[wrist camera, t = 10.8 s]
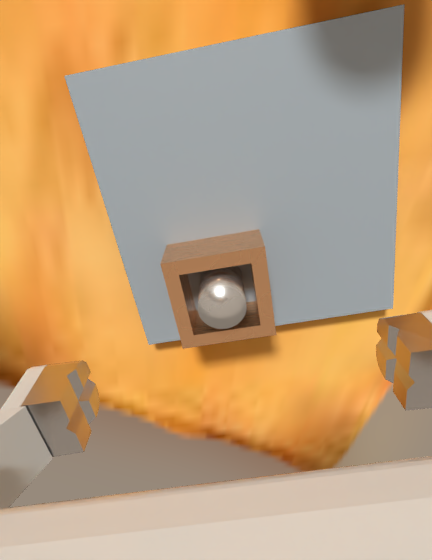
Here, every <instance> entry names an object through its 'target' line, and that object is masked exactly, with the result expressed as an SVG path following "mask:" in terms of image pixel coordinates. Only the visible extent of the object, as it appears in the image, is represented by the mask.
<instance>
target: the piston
mask: <svg viewBox="0 0 432 560" xmlns="http://www.w3.org/2000/svg"><path fill="white" fill-rule="evenodd" d="M246 309H247V307H246V299H245V292H244V286H243V279H242V273H241V271H240V269H239V267H238V266H232V267H226V268H220V269H214V270H207V271H202V272H201V275H200V286H199V297H198V313H199V316H200V318H201V319H202V321H203V322H204V323H206V324H207V325H209V326H211V327H213V328H217V329H227V328H231V327H233V326H235V325H237V324H238V323H240V322H241V321H242V319H243V318H244V316H245V314H246Z"/></svg>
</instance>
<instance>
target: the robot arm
mask: <svg viewBox="0 0 432 560" xmlns="http://www.w3.org/2000/svg"><path fill="white" fill-rule="evenodd" d="M377 332H378V334H379V335H380V337H381V338H382V339H381V340H380V341H379V342H378V344H377V345H376V356H377V361H378V366H379V368H380V370H381V373H382V374H383V376H384V378H385V379H386V380H388V381H390V382H392V383H394V384H393V392H394V394H395V395H396V397H397V398H398V400H399V401H400V402H401V404H402V406H403V408H404V409H405V410H415V409H425V408H432V310H428V311H422V312H417V313H413V314H407V315H400V316H393V317H387V318H380V319H379V321H378V324H377ZM89 374H90V369H89V367H88V365H87V363H86V362H84V361H74V362H66V363H57V364H49V365H42V366H35V367H31V368H29V369H27V371H26V372H25V373H24V375H23V376H22V378H21V379H20V381H19V382H18V384H17V385H16V387H15V388H14V390H13V391H12V393H11V394H10V396H9V397H8V399H7V400H6V402H5V403H4V405H3V406H2V408H1V409H0V560H432V456H429V457H421V458H414V459H406V460H396V461H388V462H380V463H372V464H363V465H355V466H346V467H338V468H330V469H321V470H313V471H305V472H296V473H288V474H280V475H272V476H264V477H255V478H247V479H239V480H231V481H223V482H214V483H207V484H198V485H191V486H182V487H174V488H167V489H157V490H149V491H141V492H133V493H125V494H116V495H108V496H100V497H92V498H84V499H75V500H67V501H59V502H51V503H43V504H34V505H26V506H18V507H10V505H11V504H12V503H13V502H14V501H15V500H16V499H17V498H18V497H19V496H20V494H21V493H22V492H23V491H24V490H25V489H26V488H27V487H28V485H29V484H30V483H31V482H32V481H33V480H34V479H35V478H36V476H38V474H39V473H40V472H41V471H42V470H43V469H44V468H45V467H46V466H47V464H48V463H49V462H50V461H51V460H52V459H53V457H54V456H61V455H67V454H73V453H80V452H84V450H85V448H86V445H87V442H88V439H89V436H90V434H91V429H90V427H89V424H90V423H91V422H92V421H93V420H94V419H95V418H96V416H97V413H98V410H99V393H98V389H97V387H96V384H95V383H93V382H92V381H90V380H89V379H88V377H89ZM9 507H10V508H9Z"/></svg>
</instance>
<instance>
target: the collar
mask: <svg viewBox="0 0 432 560" xmlns="http://www.w3.org/2000/svg"><path fill="white" fill-rule="evenodd" d="M244 264H250V266H251V272H252V279H253V286H254V292H255V299H256V301H252V302H246V307H247V309H246V314H245V316H244V318H243V319H242V321H241V322H240V323H238V324H237V325H235V326H233V327H231V328H227V329H217V328H213V327H211V326H209V325H207V324H206V323H204V322H203V321H202V319H201V318H200V316H199V313H198V310H196V308H195V304H194V299H193V295H192V291H191V287H190V282H189V278H188V274H189V273H195V272H201V271H207V270H214V269H220V268H226V267H232V266H238V265H244ZM160 265H161V269H162V272H163V276H164V280H165V283H166V287H167V291H168V295H169V298H170V302H171V306H172V310H173V313H174V317H175V321H176V325H177V328H178V332H179V336H180V340H181V343H182V347H183V349H184V348H190V347H197V346H204V345H211V344H218V343H224V342H231V341H238V340H245V339H252V338H258V337H265V336H272V335H276V328H275V320H274V312H273V305H272V297H271V289H270V281H269V273H268V266H267V258H266V250H265V245H264V242H263V239H262V236H261V233H260V230H259V229H257V230H251V231H245V232H239V233H233V234H227V235H221V236H216V237H210V238H204V239H198V240H192V241H186V242H180V243H174V244H168V245H167V246H166V249H165V251H164V254H163V257H162V260H161V263H160Z"/></svg>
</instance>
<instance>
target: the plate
mask: <svg viewBox="0 0 432 560" xmlns="http://www.w3.org/2000/svg"><path fill="white" fill-rule="evenodd" d="M403 28H404V5H399V6H394V7H390V8H385V9H380V10H375V11H371V12H366V13H361V14H356V15H352V16H347V17H342V18H337V19H333V20H328V21H323V22H318V23H314V24H309V25H304V26H299V27H295V28H290V29H285V30H280V31H276V32H271V33H266V34H261V35H257V36H252V37H247V38H242V39H238V40H233V41H228V42H223V43H219V44H214V45H209V46H204V47H200V48H195V49H190V50H185V51H181V52H176V53H171V54H166V55H162V56H157V57H152V58H147V59H143V60H138V61H133V62H128V63H124V64H119V65H114V66H109V67H105V68H100V69H95V70H90V71H86V72H81V73H76V74H71V75H67V76H65V80H66V83H67V86H68V89H69V92H70V95H71V99H72V102H73V105H74V108H75V111H76V114H77V118H78V121H79V124H80V127H81V130H82V134H83V137H84V140H85V143H86V146H87V149H88V153H89V156H90V159H91V162H92V165H93V169H94V172H95V175H96V178H97V181H98V184H99V188H100V191H101V194H102V197H103V200H104V204H105V207H106V210H107V213H108V216H109V219H110V223H111V226H112V229H113V232H114V235H115V238H116V242H117V245H118V248H119V251H120V254H121V258H122V261H123V264H124V267H125V270H126V273H127V277H128V280H129V283H130V286H131V289H132V293H133V296H134V299H135V302H136V305H137V308H138V312H139V315H140V318H141V321H142V324H143V327H144V331H145V334H146V337H147V340H148V343H149V345H150V344H157V343H164V342H170V341H177V340H180V336H179V332H178V328H177V325H176V321H175V317H174V313H173V310H172V306H171V302H170V298H169V295H168V291H167V287H166V283H165V280H164V276H163V272H162V269H161V265H160V263H161V260H162V257H163V254H164V251H165V249H166V246H167V245H168V244H174V243H180V242H186V241H192V240H198V239H204V238H210V237H216V236H221V235H227V234H233V233H239V232H245V231H251V230H257V229H259V230H260V233H261V236H262V239H263V242H264V245H265V250H266V258H267V266H268V273H269V281H270V289H271V297H272V305H273V312H274V320H275V326H278V325H284V324H291V323H298V322H305V321H311V320H318V319H325V318H331V317H338V316H345V315H352V314H358V313H365V312H372V311H378V310H385V309H392V308H393V293H394V266H395V240H396V213H397V187H398V161H399V134H400V108H401V81H402V55H403ZM238 267H239V269H240V271H241V273H242V279H243V286H244V292H245V299H246V302H252V301H256V299H255V292H254V286H253V279H252V272H251V266H250V264H244V265H238ZM201 272H202V271H201ZM201 272H195V273H189V274H188V278H189V282H190V287H191V291H192V295H193V299H194V304H195V308H196V310H198V297H199V286H200V275H201Z"/></svg>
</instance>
